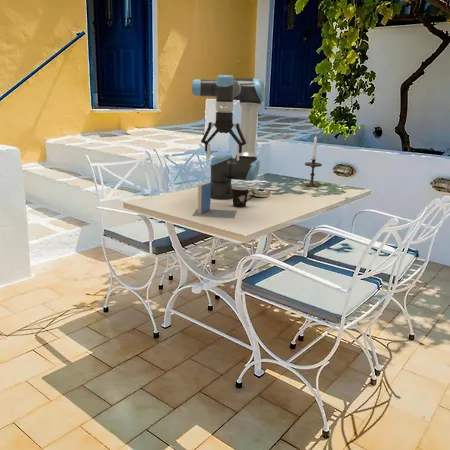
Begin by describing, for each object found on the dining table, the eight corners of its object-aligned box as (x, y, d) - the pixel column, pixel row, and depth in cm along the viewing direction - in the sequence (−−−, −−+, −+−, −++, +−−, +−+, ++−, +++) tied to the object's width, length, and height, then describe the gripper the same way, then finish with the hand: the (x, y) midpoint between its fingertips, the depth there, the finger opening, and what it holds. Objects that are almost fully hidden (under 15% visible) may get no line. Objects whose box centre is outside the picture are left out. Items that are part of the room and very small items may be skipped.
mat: (197, 209, 234) (197, 208, 234) (236, 211, 232) (236, 210, 232) (191, 217, 220) (191, 215, 220) (234, 219, 219) (234, 218, 218)
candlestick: (304, 183, 309) (308, 129, 300) (321, 185, 306) (325, 130, 296) (301, 186, 299) (306, 131, 290) (318, 188, 296) (323, 132, 286)
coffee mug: (230, 208, 238) (230, 189, 236) (232, 204, 247) (232, 186, 244) (252, 210, 237) (253, 190, 234) (254, 206, 245) (255, 187, 242)
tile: (206, 209, 233) (207, 181, 229) (210, 210, 232) (211, 182, 228) (197, 213, 225) (198, 184, 221) (201, 214, 224) (202, 185, 220)
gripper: (195, 111, 205) (194, 159, 211) (251, 113, 201) (249, 162, 208) (198, 110, 212) (198, 156, 218) (253, 112, 208) (251, 159, 215)
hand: (223, 159), depth 213 cm, fingers open, 13 cm apart
